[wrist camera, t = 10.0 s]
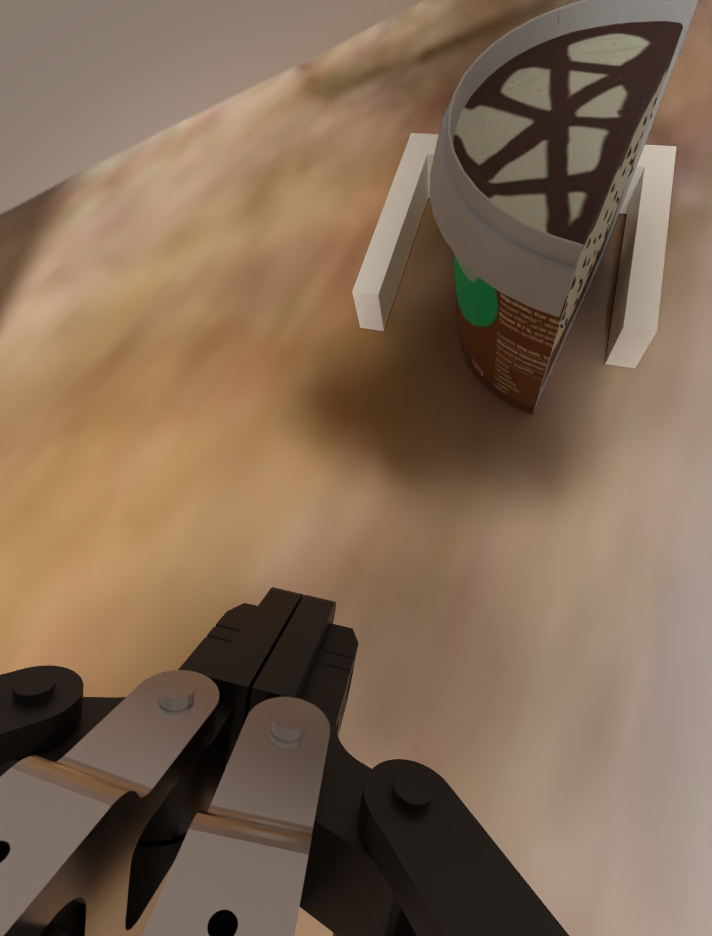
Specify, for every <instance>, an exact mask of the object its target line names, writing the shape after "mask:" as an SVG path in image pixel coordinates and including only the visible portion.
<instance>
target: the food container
mask: <svg viewBox="0 0 712 936" xmlns="http://www.w3.org/2000/svg"><path fill="white" fill-rule="evenodd" d="M697 3H698V0H581V1H578V2H575V3H572V4H568V5H565V6H562V7H559V8H556V9H554V10H551V11H549V12H546V13H544V14H542V15H539V16H537V17H534V18H532V19H531V20H529V21H527V22H525V23H523V24H521V25H519V26H518V27H516V28H514V29H512V30H511V31H509V32H508V33H506V34H505V35H503V36H502V37H501V38H499V39H498V40H496V41H495V42H493V43H492V44H491V45H490V46H489V47H488V48H487V49H486V50H485V51H484V52H482V53H481V54H480V55H479V56H478V57H477V58H476V59H475V60H474V62H473V63H472V64H471V65H470V67H469V68H468V69H467V71H466V72H465V73H464V74H463V76H462V78H461V80H460V82H459V84H458V86H457V87H456V89H455V91H454V93H453V97H452V100H451V102H450V104H449V106H448V108H447V109H446V111H445V113H444V116H443V120H442V124H441V127H440V131H439V135H438V139H437V144H436V149H435V154H434V158H433V163H432V168H431V173H430V190H429V195H430V201H431V206H432V211H433V216H434V218H435V220H436V223H437V225H438V227H439V230H440V232H441V234H442V236H443V238H444V239H445V241H446V242H447V244H448V245H449V246H450V248H451V249H452V251H453V256H454V270H455V284H456V298H457V312H458V325H459V339H460V343H461V348H462V352H463V354H464V357H465V359H466V362H467V364H468V365H469V367H470V368H471V370H472V372H473V373H474V375H475V376H476V377H477V378H478V379H479V381H480V382H481V383H482V384H483V385H484V386H485V387H486V388H487V389H488V390H490V391H491V392H492V393H493V394H495V395H496V396H497V397H498V398H500V399H502V400H503V401H505V402H507V403H508V404H510V405H512V406H513V407H516V408H518V409H520V410H523V411H525V412H528V413H530V414H532V415H533V413H534V411H535V409H536V406H537V404H538V402H539V400H540V397H541V395H542V393H543V391H544V388H545V386H546V384H547V382H548V379H549V377H550V375H551V373H552V370H553V368H554V366H555V364H556V361H557V359H558V357H559V355H560V352H561V350H562V348H563V346H564V343H565V341H566V339H567V337H568V335H569V332H570V330H571V328H572V326H573V323H574V321H575V319H576V317H577V314H578V312H579V310H580V308H581V305H582V303H583V301H584V299H585V296H586V294H587V292H588V290H589V287H590V285H591V283H592V281H593V278H594V276H595V274H596V272H597V269H598V267H599V265H600V263H601V260H602V258H603V256H604V253H605V250H606V248H607V245H608V242H609V240H610V237H611V234H612V231H613V229H614V226H615V223H616V221H617V218H618V215H619V213H620V210H621V207H622V205H623V202H624V199H625V197H626V194H627V191H628V188H629V186H630V183H631V180H632V178H633V175H634V172H635V170H636V167H637V164H638V162H639V159H640V156H641V154H642V151H643V148H644V146H645V143H646V140H647V137H648V135H649V132H650V129H651V127H652V124H653V121H654V119H655V116H656V113H657V111H658V108H659V105H660V103H661V100H662V97H663V94H664V92H665V89H666V86H667V84H668V81H669V78H670V76H671V73H672V70H673V68H674V65H675V62H676V60H677V57H678V56H679V54H680V51H681V49H682V46H683V43H684V40H685V37H686V35H687V32H688V29H689V26H690V24H691V21H692V18H693V15H694V12H695V8H696V6H697Z"/></svg>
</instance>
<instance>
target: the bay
mask: <svg viewBox="0 0 712 936" xmlns="http://www.w3.org/2000/svg"><path fill="white" fill-rule="evenodd" d="M438 135H439V134H420V133H411V135H410V137H409V140H408V143H407V146H406V148H405V151H404V154H403V156H402V159H401V162H400V164H399V167H398V170H397V173H396V175H395V178H394V181H393V183H392V186H391V189H390V191H389V194H388V197H387V199H386V202H385V205H384V208H383V210H382V213H381V216H380V218H379V221H378V224H377V226H376V229H375V232H374V235H373V237H372V240H371V243H370V245H369V248H368V251H367V253H366V256H365V259H364V261H363V264H362V267H361V270H360V272H359V275H358V278H357V280H356V283H355V286H354V288H353V291H352V292H353V297H354V301H355V306H356V311H357V315H358V320H359V324H360V328H365V329H372V330H378V331H384V330H385V327H386V324H387V321H388V318H389V315H390V311H391V308H392V305H393V302H394V299H395V296H396V293H397V290H398V287H399V284H400V281H401V278H402V275H403V272H404V269H405V266H406V263H407V260H408V257H409V254H410V251H411V248H412V245H413V242H414V239H415V236H416V233H417V230H418V227H419V224H420V221H421V218H422V215H423V212H424V209H425V206H426V203H427V200H428V198H430V195H429V190H430V173H431V168H432V163H433V158H434V154H435V149H436V144H437V139H438ZM675 154H676V146H657V145H645V146H644V148H643V151H642V154H641V156H640V159H639V162H638V164H637V167H636V170H635V172H634V175H633V178H632V180H631V183H630V186H629V188H628V191H627V194H626V197H625V199H624V202H623V205H622V207H621V210H620V213H619V214H627V217H626V223H625V230H624V237H623V244H622V251H621V258H620V265H619V272H618V279H617V286H616V293H615V300H614V307H613V314H612V321H611V328H610V335H609V342H608V349H607V355H606V362H605V364H608V365H615V366H621V367H628V368H636V366H637V364H638V363H639V361H640V359H641V358H642V356H643V354H644V352H645V351H646V349H647V347H648V346H649V344H650V342H651V340H652V339H653V337H654V335H655V334H656V332H657V325H658V316H659V306H660V297H661V287H662V278H663V268H664V259H665V249H666V240H667V230H668V220H669V211H670V201H671V192H672V182H673V173H674V163H675Z"/></svg>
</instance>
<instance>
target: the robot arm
mask: <svg viewBox="0 0 712 936" xmlns="http://www.w3.org/2000/svg"><path fill="white" fill-rule="evenodd" d="M335 608H336V602H334V601H330V600H325V599H321V598H317V597H313V596H308V595H304V596H303V594H299V593H295V592H291V591H286V590H282V589H278V588H274V587H272V588H271V589H270V590H269V592H268V593H267V595H266V596H265V597H264V599H263V600H262V602H261V603H260V604H259V606H255V605H251V604H247V603H243V604H241V605H239V606H237V607H235V608H233V609H231V610H229V611H227V612H226V613H225V614H224V616H223V617H222V618H221V619H220V620H219V622H218V623H217V624H216V627H214V628H213V629H212V630H211V631H210V632H209V634H208V635H207V638H206V637H205V638H204V640H203V641H202V642H201V643H200V644H199V646H198V647H197V648H196V649H195V650H194V652H193V653H192V654H191V655H190V656H189V658H188V659H187V660H186V661H185V662H184V664H183V665H182V666H181V667H180V668H179V670H174V671H167V672H162V673H159V674H156V675H154V676H152V677H150V678H148V679H146V680H145V681H143V682H142V683H141V684H140V685H139V686H138V687H137V688H136V689H135V690H133V691H132V692H131V693H130V694H129V695H128V696H127V697H123V698H103V697H83V681H82V679H81V677H80V676H79V675H78V674H77V673H75V672H74V671H72V670H70V669H67V668H64V667H59V666H36V667H30V668H25V669H21V670H17V671H14V672H10V673H6V674H2V675H0V936H294V934H295V928H296V923H297V917H298V912H299V906H300V907H301V908H302V909H303V910H305V911H306V912H307V913H309V914H310V915H311V916H313V917H314V918H315V919H317V920H318V921H319V922H321V923H322V924H323V925H324V926H326V927H327V928H328V929H330V930H331V931H332V932H333V936H569V935H568V934H567V932H566V931H565V930H564V929H563V927H562V926H561V925H560V924H559V922H558V921H557V920H556V919H555V917H554V916H553V915H552V914H551V912H550V911H549V910H548V909H547V907H546V906H545V905H544V904H543V902H542V901H541V900H540V899H539V897H538V896H537V895H536V894H535V892H534V891H533V890H532V889H531V887H530V886H529V885H528V884H527V882H526V881H525V880H524V879H523V877H522V876H521V875H520V874H519V872H518V871H517V870H516V869H515V867H514V866H513V865H512V864H511V862H510V861H509V860H508V859H507V857H506V856H505V855H504V854H503V852H502V851H501V850H500V849H499V847H498V846H497V845H496V844H495V842H494V841H493V840H492V839H491V837H490V836H489V835H488V834H487V832H486V831H485V830H484V828H483V827H482V826H481V825H480V823H479V822H478V821H477V820H476V818H475V817H474V816H473V815H472V813H471V812H470V811H469V810H468V808H467V807H466V806H465V805H464V803H463V802H462V801H461V800H460V798H459V797H458V796H457V795H456V793H455V792H454V791H453V790H452V788H451V787H450V786H449V785H448V783H447V782H446V781H445V780H444V779H443V778H442V777H441V776H440V775H439V774H437V773H436V772H435V771H433V770H432V769H430V768H428V767H426V766H424V765H422V764H420V763H417V762H414V761H410V760H403V759H395V760H388V761H385V762H382V763H380V764H378V765H377V766H375V767H374V768H373V769H371V768H369V767H368V766H366V765H364V764H362V763H361V762H359V761H358V760H356V759H355V758H354V757H353V756H351V755H350V754H349V753H348V752H347V751H346V750H345V748H344V747H343V745H342V744H341V742H340V740H339V738H338V734H339V730H340V727H341V723H342V719H343V715H344V712H345V708H346V704H347V700H348V694H349V689H350V684H351V679H352V674H353V668H354V663H355V658H356V653H357V648H358V641H357V639H356V636H355V633H354V631H353V629H352V628H348V627H343V626H339V625H335V624H333V620H334V614H335Z"/></svg>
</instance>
